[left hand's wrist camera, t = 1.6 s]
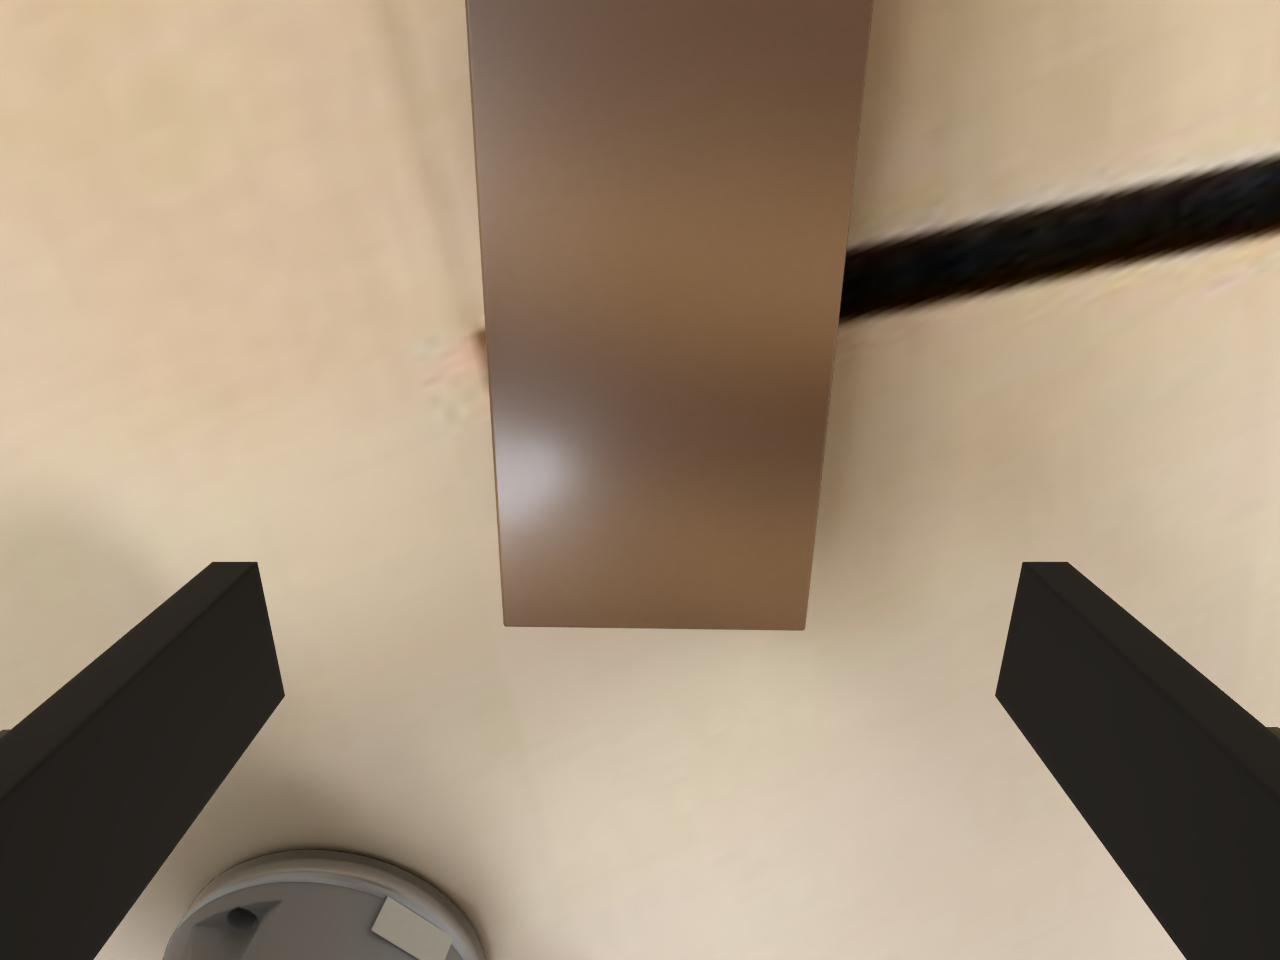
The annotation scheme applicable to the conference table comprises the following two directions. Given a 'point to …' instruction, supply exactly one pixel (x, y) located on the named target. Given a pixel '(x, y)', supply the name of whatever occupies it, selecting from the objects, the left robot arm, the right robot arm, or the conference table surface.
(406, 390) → the conference table surface
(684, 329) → the brown wooden beam
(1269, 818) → the left robot arm
